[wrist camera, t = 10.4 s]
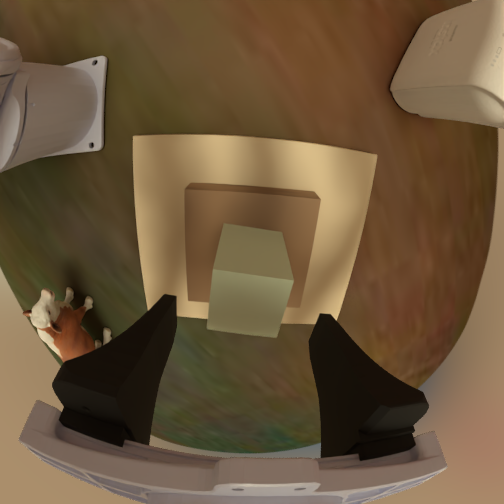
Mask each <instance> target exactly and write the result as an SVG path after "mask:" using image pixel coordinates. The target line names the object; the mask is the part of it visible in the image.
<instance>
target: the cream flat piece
mask: <svg viewBox="0 0 504 504" xmlns="http://www.w3.org/2000/svg"><path fill="white" fill-rule="evenodd" d="M376 161H377V155H376V154H373V153H369V152H364V151H359V150H353V149H348V148H342V147H336V146H330V145H324V144H317V143H310V142H303V141H294V140H286V139H276V138H266V137H254V136H239V135H218V134H151V135H136V136H133V175H134V196H135V211H136V223H137V234H138V244H139V253H140V261H141V268H142V276H143V282H144V289H145V295H146V301H147V307H148V310H149V309H150V308H151V307H152V306H153V305H154V304H155V303H156V302H157V301H158V300H159V299H160V298H161V297H162V296H163V295H164V294H169V295H175V296H177V316H183V317H193V318H204V319H208V311H209V300H210V291H211V282H212V272H213V266H214V262H215V258H216V253H217V249H218V245H219V241H220V237H221V232H222V228H223V224H224V223H226V224H232V225H239V226H246V227H252V228H259V229H265V230H271V231H278V232H282V234H283V238H284V242H285V246H286V250H287V254H288V258H289V262H290V266H291V270H292V274H293V278H294V282H293V286H292V289H291V292H290V296H289V299H288V302H287V306H286V309H285V312H284V316H283V319H282V322H281V323H290V324H316V322H317V319H318V316H319V314H320V313H324V314H331V315H332V316H333V317H334V318H335V320H336V321H337V318H338V315H339V312H340V309H341V306H342V303H343V299H344V296H345V293H346V290H347V286H348V283H349V279H350V276H351V272H352V269H353V265H354V262H355V258H356V254H357V250H358V246H359V242H360V238H361V234H362V230H363V226H364V222H365V217H366V213H367V208H368V203H369V199H370V194H371V189H372V183H373V178H374V173H375V167H376Z"/></svg>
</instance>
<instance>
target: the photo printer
mask: <svg viewBox="0 0 504 504" xmlns="http://www.w3.org/2000/svg"><path fill="white" fill-rule="evenodd" d="M390 91H391V92H392V95H393V97H394V99H395V101H396V102H397V104H398V105H399V106H400V107H401V108H402V109H404V110H405V111H407V112H409V113H414V114H419V116H422V117H428V118H440V119H449V120H457V121H464V122H471V123H477V124H482V125H488V126H493V127H498V128H504V0H477V1H474V2H470V3H467V4H464V5H461V6H458V7H455V8H452V9H450V10H447V11H444V12H442V13H439V14H437V15H434V16H432V17H430V18H428V19H427V20H425V21H424V22H423V23H422V24H421V26H420V27H419V29H418V31H417V32H416V34H415V36H414V38H413V39H412V41H411V43H410V45H409V47H408V49H407V51H406V53H405V55H404V57H403V59H402V61H401V63H400V65H399V67H398V69H397V71H396V73H395V75H394V77H393V80H392V83H391V86H390Z"/></svg>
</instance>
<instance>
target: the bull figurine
mask: <svg viewBox="0 0 504 504" xmlns="http://www.w3.org/2000/svg"><path fill="white" fill-rule="evenodd" d="M73 294H74V291H73V289H72V288H70V287H67V289H66V298H65V301H64V302H62V301H60V300H57V301H55V302H54V299H55V294H54V292H52V291H51V290H49V289H47V288H44V289H43V290H42V292H41V298H40V300H39V301H38V302H37V303H36V305H34V307H33V308H32V310H27V311H24V312H23V315H25V316H29V317H31V321H32V324H33V325H34V326H36V327H37V330H38V334H39V336H40V338H41V339H42V340H43V341H44V342H46V343H47V344H48V346H49V347H50V348H51V349H52V350H53V351H54V352H55V353H57V355H58V356H59V357H60V358H61V360H62V361H63V362H65V361H67V360H70V359H73V358H76V357H79V356H81V355H84V354H86V353H89V352H91V351H93V350H95V345H96V349H97V348H99V347H101V344H102V343H101V341H100V340H95V344H94V341H93V339H92V337H91V336H90V335H89V333H88V332H87V331H86V330H85V329H84V328H83V327H82V326H81V325H80V324H81V320H82V318H83V316H84V314H85V312H86V311H87V310H88V309H91V308H92V307H93V306H92V303H93V299H92V298H91V297H90V296H87V297H86V300H85V304H84V306H81V307H79V308H78V309H77V310H74V311H73V308H72V306H71V305H69V304H70V301H71V300H73V298H74V297H73ZM103 330H104V331H103V336H104V342H103V345H104V344H106V343H108V342H109V341H110V340H111V339H112V337H110V335H111V330H110V329H109V328H107V327H105V328H104V329H103Z"/></svg>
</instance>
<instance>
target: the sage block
mask: <svg viewBox="0 0 504 504" xmlns="http://www.w3.org/2000/svg"><path fill="white" fill-rule="evenodd" d="M293 282H294V278H293V274H292V270H291V266H290V262H289V258H288V254H287V250H286V246H285V242H284V238H283V234H282V232H278V231H271V230H265V229H259V228H252V227H246V226H239V225H232V224H226V223H224V224H223V228H222V232H221V237H220V241H219V245H218V249H217V253H216V258H215V262H214V266H213V272H212V282H211V291H210V300H209V311H208V321H207V329H210V330H217V331H224V332H231V333H239V334H247V335H255V336H265V337H274V338H277V335H278V331H279V328H280V325H281V322H282V319H283V316H284V312H285V309H286V306H287V302H288V299H289V296H290V292H291V289H292V286H293Z"/></svg>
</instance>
